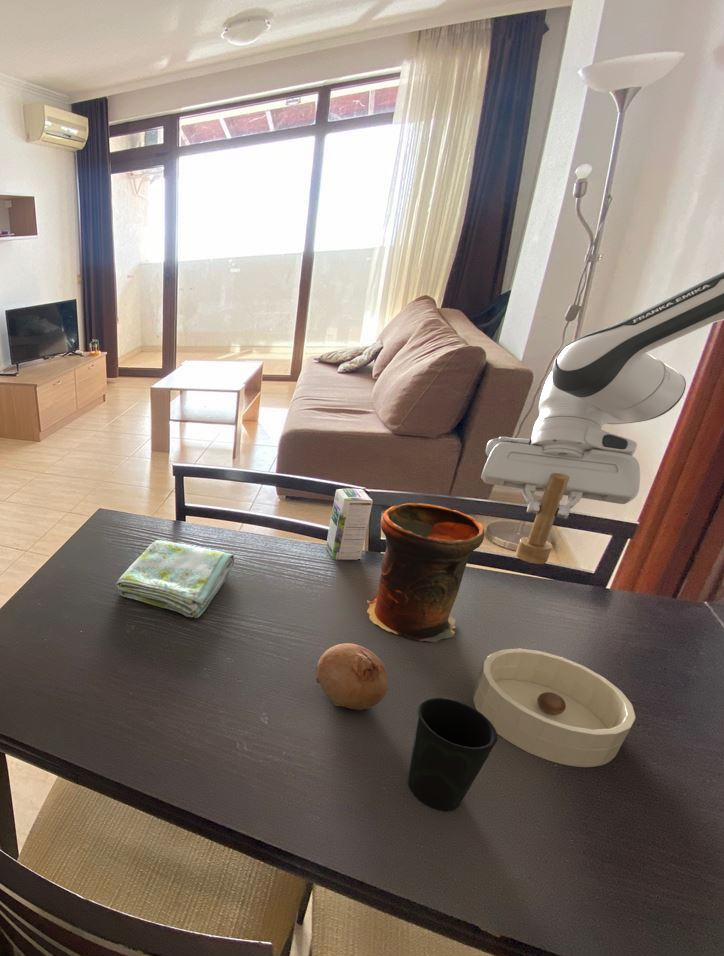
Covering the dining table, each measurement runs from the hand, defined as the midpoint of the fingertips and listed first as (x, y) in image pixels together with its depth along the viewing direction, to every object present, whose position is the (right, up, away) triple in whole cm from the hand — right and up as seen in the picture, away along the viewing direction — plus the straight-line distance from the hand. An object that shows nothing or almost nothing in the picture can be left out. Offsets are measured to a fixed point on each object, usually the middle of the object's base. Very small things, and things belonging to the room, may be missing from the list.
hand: (547, 514), depth 92 cm
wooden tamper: (+1, -8, +4) cm, 9 cm away
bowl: (-16, -29, -16) cm, 36 cm away
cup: (-37, -34, -24) cm, 56 cm away
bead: (-14, -26, -16) cm, 34 cm away
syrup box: (-21, -9, +26) cm, 35 cm away
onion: (-40, -28, -10) cm, 50 cm away
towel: (-60, -15, +20) cm, 65 cm away
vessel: (-20, -19, +6) cm, 28 cm away
